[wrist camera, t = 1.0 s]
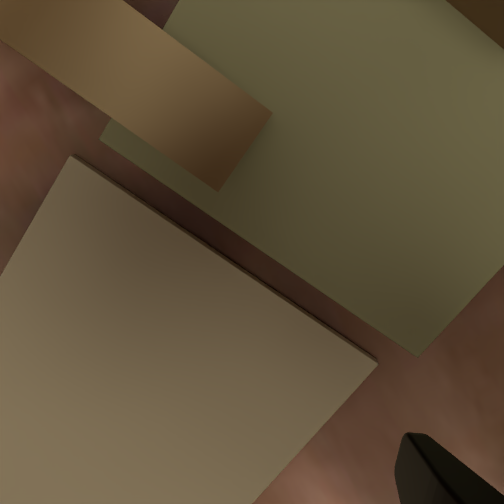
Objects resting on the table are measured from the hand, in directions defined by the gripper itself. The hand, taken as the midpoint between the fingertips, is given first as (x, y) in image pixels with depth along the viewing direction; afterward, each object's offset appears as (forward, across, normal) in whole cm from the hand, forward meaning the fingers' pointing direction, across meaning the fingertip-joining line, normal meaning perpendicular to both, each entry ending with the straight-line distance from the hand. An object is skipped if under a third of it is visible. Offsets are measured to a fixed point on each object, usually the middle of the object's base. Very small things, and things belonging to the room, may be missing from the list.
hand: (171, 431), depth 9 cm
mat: (+12, +5, +11) cm, 18 cm away
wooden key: (+7, +4, -8) cm, 11 cm away
